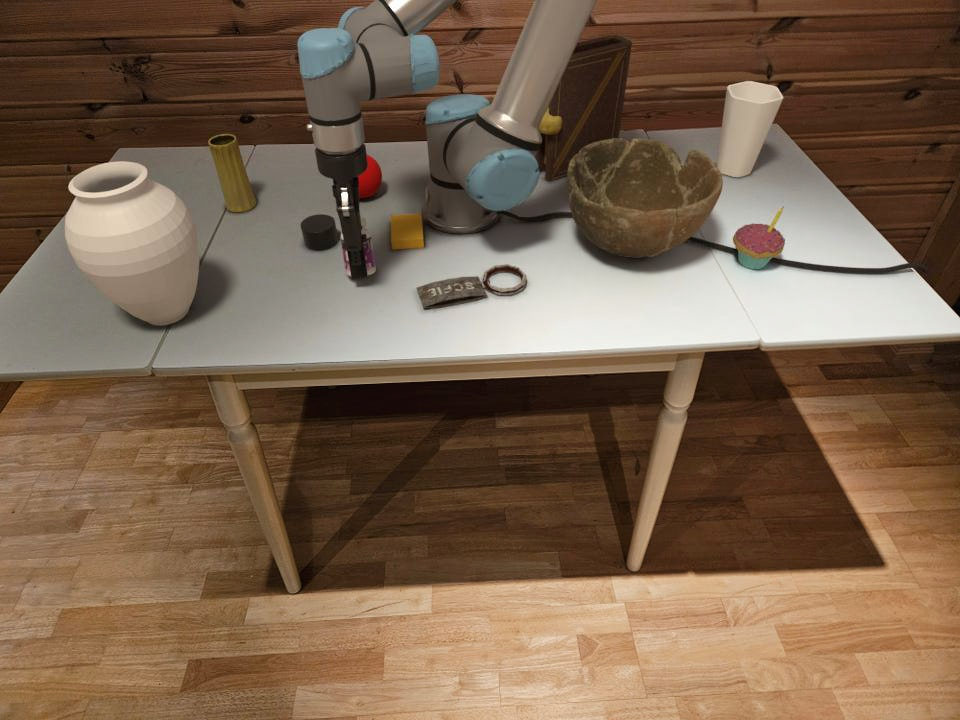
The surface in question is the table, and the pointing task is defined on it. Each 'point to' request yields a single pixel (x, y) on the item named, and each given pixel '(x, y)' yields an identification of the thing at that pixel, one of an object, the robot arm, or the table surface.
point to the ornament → (370, 179)
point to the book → (584, 103)
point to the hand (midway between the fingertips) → (359, 276)
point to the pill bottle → (367, 249)
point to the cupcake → (758, 243)
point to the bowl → (640, 195)
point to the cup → (746, 125)
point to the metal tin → (319, 232)
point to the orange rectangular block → (407, 231)
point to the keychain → (466, 288)
